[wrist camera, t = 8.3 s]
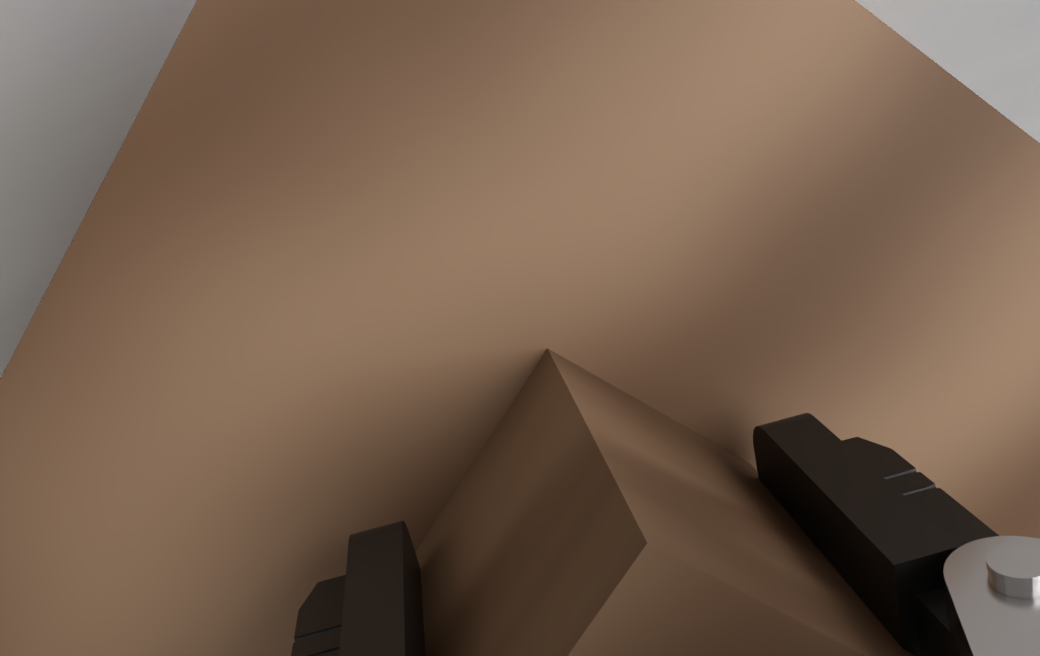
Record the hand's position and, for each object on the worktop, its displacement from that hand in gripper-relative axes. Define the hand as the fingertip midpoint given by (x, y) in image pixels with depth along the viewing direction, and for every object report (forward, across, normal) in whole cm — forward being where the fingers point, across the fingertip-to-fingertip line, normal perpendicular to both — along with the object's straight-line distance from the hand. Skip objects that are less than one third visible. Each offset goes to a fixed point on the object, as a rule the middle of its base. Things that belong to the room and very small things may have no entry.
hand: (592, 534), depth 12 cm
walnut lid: (+1, 0, 0) cm, 1 cm away
